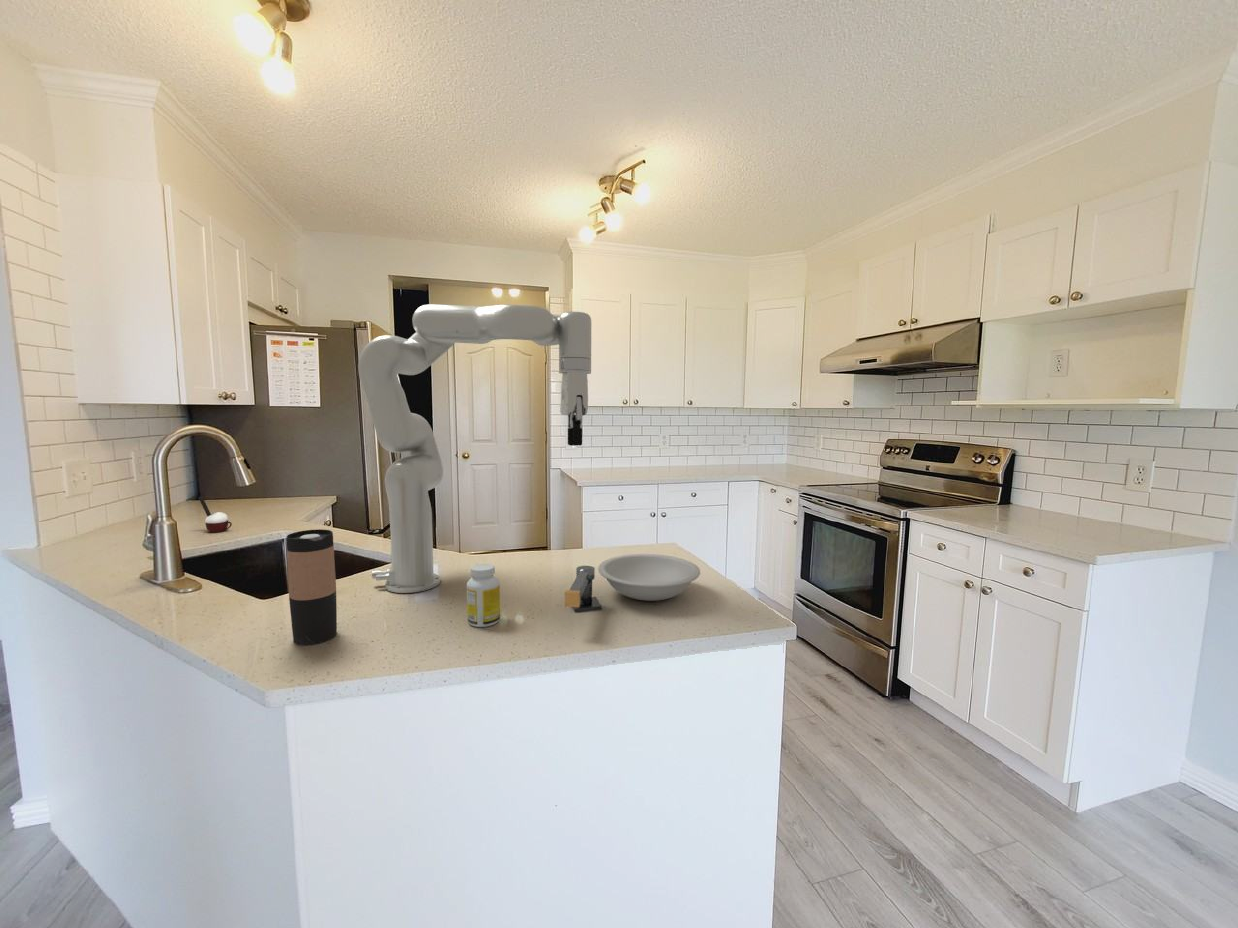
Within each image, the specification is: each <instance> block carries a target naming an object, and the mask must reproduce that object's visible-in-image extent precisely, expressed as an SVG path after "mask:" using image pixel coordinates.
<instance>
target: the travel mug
mask: <svg viewBox="0 0 1238 928" xmlns="http://www.w3.org/2000/svg"><path fill="white" fill-rule="evenodd" d="M285 537H286V539H285V541H286V558H287V559H286V560H287V561H286V562H287V578H288V579H287V581H288V582H287V583H288V584H287V585H288V598H289V599H288V601H289V609H290V621H291V631H292V640H293V642H294V644H296V645H299V646H310V645H311V646H313V645H318V644H322V643H325V642H329V640H332V639H333V638H334V637H335V636H337V631H338V627H337V625H338V623H337V620H338V619H337V618H338V617H337V616H338V614H337V611H338V609H337V579H336V565H335V550H334V548H335V545H334V532H333V531H332V530H329V529H308V530H307V529H305V530H300V531H296V532H292V533H291V532H290V533H289V534H287V535H286V536H285Z"/></svg>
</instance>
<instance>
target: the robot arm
mask: <svg viewBox="0 0 1238 928" xmlns="http://www.w3.org/2000/svg"><path fill="white" fill-rule="evenodd" d="M411 319H412V327H413V329H414V331H415V332H414V333H413V334H412V335H411V336H410V337H409V338H404V337H401V336H398V335H393V334H391V335H390V334H389V335H388V334H386V335H385V334H383V335H379V336H377V337H375V338H373V339H372V340H370V341H369V342H368V343H367V344H366V345H365V346H364V348H363V349H362V351H361V352H360V356H359V359H358V367H357V368H358V369H357V370H358V376H359V377H358V378H359V380H360V384H361V386H362V390H363V393H364V395H365V398H366V402H367V406H368V410H369V413H370V417H371V419H372V423H373V425H374V426H373V427H374V429H375V433H376V436H377V437H376V438H377V440H378V442H379V445H380V446H381V447H382V449H384V450H385V451H387V452H390V453H395V454H399V453H400V455H401V458H399V459H396V460H395V461H393V463H391V464H390V465H389V466H388V468H387V470H386V472H385V475H384V487H385V492H386V495H387V497H386V498H387V503H388V511H389V526H390V527H389V528H390V529H389V530H390V554H391V556H390V557H391V558H390V559H391V566H390V568H386V569H385V570H381V569H379V570H372V573H371V574H372V575H371V578H372V579H373V580H375V581H377V582H378V581H384V580H386V581H385V587H384V588H385V590H387V592H388V591H389V592H392V593H397V594H410V593H411V594H413V593H418V592H424V591H427V590H430V589H433V588H435V587H437V586H439V585H440V583H441V577H440V575H439V574H437V573H435V572H434V552H433V551H434V548H433V547H434V541H433V511H432V505H431V501H430V500H431V499H430V496H429V491H431V490H432V489H435V488H436V487H437V486H438V485H439V484H440V483H441V482H442V479H443V478H444V477H443V476H444V467H443V463H442V459H441V456H440V453H439V448H438V445H437V442H436V439H435V435H434V432H433V430H432V427H431V425H430V424H429V422H428V421H427V419H425V417H423V416H422V415H420V414H419V413H418V414H417V413H414V412H411V410H410V406H409V404H408V400H407V397H406V393H405V390H404V388H403V387H402V385H401V382H400V381H399V379H398V374H399V375H404V376H405V375H406V376H415V375H418V374H421V373H423V372H425V371H426V370H427V369H428V368H429V367H431V365H432V364H434V363H435V362H436V361H437V360H439V358H441V357H442V356H443V355H444V354H445V353H446V352H447V351H449V349H451V348H452V347H453V346H454V344H456V343H459V344H472V345H473V344H477V345H482V344H483V345H484V344H489V343H490V342H493V341H496V340H497V341H498V340H518V341H532V342H533V343H534V344H535V345H536V344H537V345H538V346H541V347H550V346H558V373H559V374H562V376H561V387H560V410H559V412H560V414H561V415H562V416H567V445H568V446H574V447H575V446H582V445H583V418H584V417H583V416H586V415H587V413H588V412H589V411H588V409H589V387H588V385H589V383H588V382H589V381H588V375H590V374H592V318H591V316H590V315H589V313H586V312H583V311H565V312H563V313H562V314H560V315H555V314H552V312H550V311H549V310H548V309H547V308H544V307H541V306H536V305H525V304H497V305H496V304H495V305H494V304H493V305H458V304H439V303H438V304H437V303H428V304H422V305H421V306H419V307H417V309H416V310H415V311H414V313H413V314H412V318H411Z"/></svg>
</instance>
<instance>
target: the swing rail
mask: <svg viewBox="0 0 1238 928" xmlns="http://www.w3.org/2000/svg"><path fill="white" fill-rule="evenodd" d="M595 577H596V576H595V567H594V566H592V565H581V566H580V565H579V566H577V567H576V578H575V579H574V581H573V583H572V584H571V586H570V588H569V589H566V590H565V591H564V607H566V608H567V607H569V608H572V607H580V598H581V596H582V594H583V592H584V590H585V587H586V585H587V583H588V581H591V580H592V581H593V580H595Z"/></svg>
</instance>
